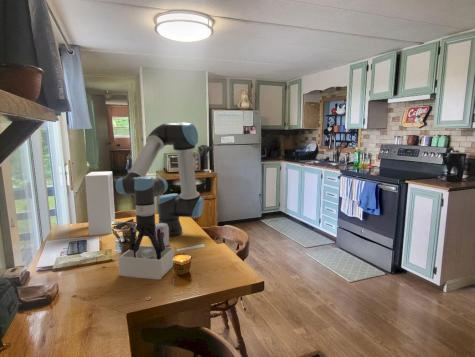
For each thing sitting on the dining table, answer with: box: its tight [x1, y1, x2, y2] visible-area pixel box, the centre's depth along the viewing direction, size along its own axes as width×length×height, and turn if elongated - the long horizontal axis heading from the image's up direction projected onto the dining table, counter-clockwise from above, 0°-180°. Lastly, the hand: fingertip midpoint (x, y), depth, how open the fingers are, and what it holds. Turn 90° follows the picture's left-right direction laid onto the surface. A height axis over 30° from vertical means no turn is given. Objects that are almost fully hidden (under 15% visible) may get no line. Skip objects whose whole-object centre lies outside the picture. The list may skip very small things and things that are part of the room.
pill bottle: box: [142, 249, 153, 259], centre depth 128 cm, size 5×5×8 cm
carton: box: [117, 245, 175, 281], centre depth 128 cm, size 14×19×8 cm
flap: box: [109, 255, 158, 260], centre depth 117 cm, size 7×16×1 cm, turn 79°
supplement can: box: [151, 222, 171, 248], centre depth 144 cm, size 8×8×15 cm
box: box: [84, 170, 116, 236], centre depth 185 cm, size 22×12×35 cm, turn 17°
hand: (147, 266), depth 128 cm, fingers open, 8 cm apart
